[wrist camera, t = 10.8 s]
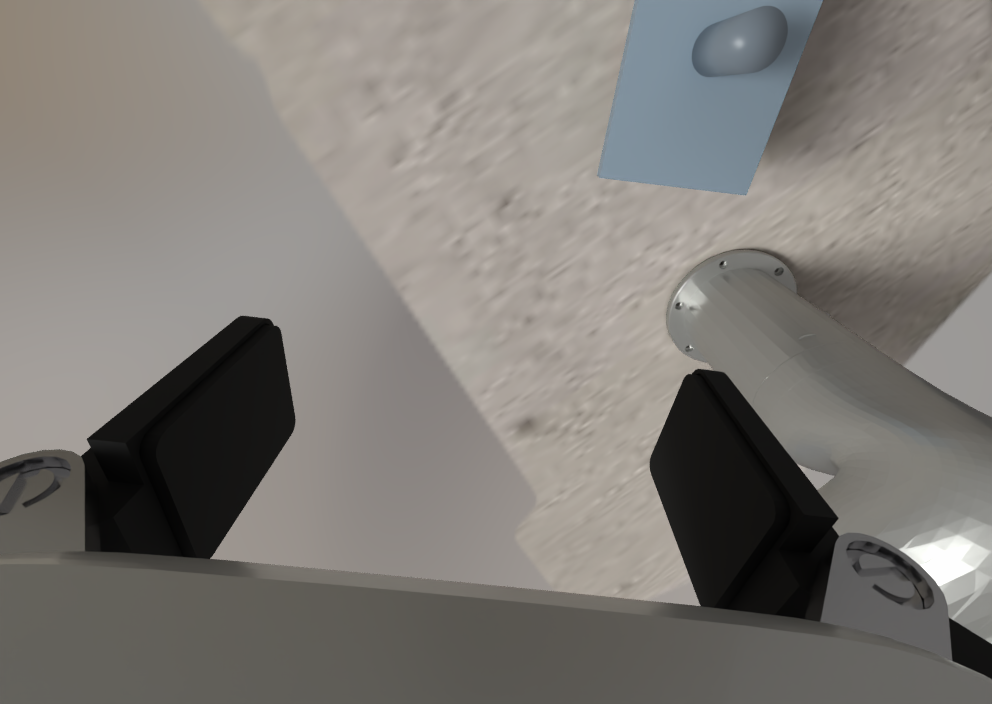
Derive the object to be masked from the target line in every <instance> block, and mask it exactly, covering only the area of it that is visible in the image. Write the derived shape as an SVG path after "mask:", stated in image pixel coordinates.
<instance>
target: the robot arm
mask: <svg viewBox="0 0 992 704" xmlns="http://www.w3.org/2000/svg"><path fill="white" fill-rule="evenodd" d="M721 262H722V263H721ZM720 263H721V264H720ZM678 302H679V303H678ZM676 303H678V304H676ZM666 325H667V329H668V333H669V335H670V337H671V339H672V341H673V342H674V343H675V345H676V346H677V348H678V349H679V350H680V351H681V352H682V353H684V354H685V355H687V356H689V357H690V358H692V359H695V360H698V361H701V362H706V363H708V364H709V365H710V366H711V368H712V369H713V370H714V371H712V370H703V369H697V370H695V371H694V372H693V373H692V374H688V375H686V376H685V378H684V380H683V382H682V384H681V387H680V389H679V391H678V394H677V396H676V398H675V401H674V403H673V406H672V408H671V410H670V413H669V415H668V417H667V420H666V422H665V425H664V427H663V429H662V432H661V434H660V436H659V439H658V441H657V444H656V446H655V448H654V451H653V453H652V455H651V458H650V472H651V475H652V477H653V480H654V483H655V485H656V488H657V491H658V493H659V496H660V499H661V501H662V504H663V507H664V510H665V512H666V515H667V518H668V520H669V523H670V526H671V528H672V531H673V534H674V536H675V539H676V542H677V544H678V547H679V550H680V552H681V555H682V558H683V560H684V563H685V566H686V568H687V571H688V574H689V576H690V579H691V582H692V584H693V587H694V590H695V592H696V595H697V598H698V600H699V603H700V605H701V606H692V605H682V604H673V603H663V602H654V601H644V600H634V599H624V598H615V597H605V596H595V595H585V594H576V593H566V592H556V591H546V590H536V589H525V588H515V587H505V586H494V585H484V584H474V583H463V582H453V581H443V580H432V579H422V578H412V577H401V576H391V575H380V574H370V573H358V572H348V571H337V570H326V569H315V568H304V567H293V566H282V565H271V564H259V563H249V562H239V561H228V560H215V559H210V558H211V557H212V556H213V554H214V553H215V551H216V549H217V548H218V546H219V545H220V543H221V542H222V540H223V539H224V537H225V536H226V534H227V532H228V531H229V530H230V528H231V527H232V525H233V523H234V522H235V520H236V519H237V517H238V516H239V514H240V513H241V511H242V510H243V508H244V507H245V505H246V504H247V502H248V500H249V499H250V497H251V496H252V494H253V493H254V491H255V489H256V488H257V487H258V485H259V484H260V482H261V480H262V479H263V477H264V476H265V474H266V473H267V471H268V470H269V468H270V467H271V465H272V463H273V462H274V460H275V459H276V457H277V456H278V454H279V453H280V451H281V450H282V448H283V447H284V445H285V444H286V442H287V440H288V439H289V437H290V436H291V434H292V432H293V430H294V427H295V413H294V407H293V401H292V395H291V389H290V383H289V377H288V371H287V365H286V359H285V353H284V347H283V341H282V334H281V330H280V329H279V327H277V326H274V325H273V323H272V321H271V320H270V319H266V318H258V317H249V316H240V317H238V318H237V319H235V320H234V321H233V322H232V323H230V324H229V325H228V326H227V327H226V328H224V329H223V330H222V331H220V332H219V333H218V334H217V335H215V336H214V337H213V338H212V339H210V340H209V341H208V342H207V343H206V344H204V345H203V346H202V347H201V348H199V349H198V350H197V351H196V352H194V353H193V354H192V355H191V356H190V357H188V358H187V359H186V360H184V361H183V362H182V363H181V364H180V365H178V366H177V367H176V368H175V369H173V370H172V371H171V372H170V373H168V374H167V375H166V376H164V377H163V378H162V379H161V380H160V381H158V382H157V383H156V384H155V385H153V386H152V387H151V388H150V389H148V390H147V391H146V392H145V393H143V394H142V395H141V396H140V397H139V398H137V399H136V400H135V401H133V402H132V403H131V404H130V405H128V406H127V407H126V408H125V409H123V410H122V411H121V412H120V413H119V414H117V415H116V416H115V417H114V418H112V419H111V420H110V421H109V422H107V423H106V424H105V425H104V426H102V427H101V428H100V429H99V430H98V431H96V432H95V433H94V434H92V435H91V436H90V437H89V438H87V441H88V443H89V445H90V446H91V448H90V449H89V450H88V451H87V452H85V453H84V454H83V455H82V456H79V455H77V454H76V453H74V452H72V451H66V450H60V449H59V450H42V451H37V452H32V453H27V454H23V455H19V456H17V457H13V458H10V459H7V460H5V461H2V462H0V704H992V417H990V416H988V415H986V414H984V413H982V412H980V411H978V410H976V409H974V408H972V407H970V406H968V405H966V404H965V403H963V402H961V401H959V400H957V399H955V398H954V397H952V396H950V395H948V394H946V393H944V392H943V391H941V390H940V389H938V388H936V387H935V386H933V385H932V384H930V383H929V382H927V381H925V380H924V379H922V378H921V377H919V376H917V375H916V374H914V373H913V372H911V371H909V370H908V369H906V368H905V367H903V366H902V365H900V364H899V363H897V362H896V361H894V360H893V359H891V358H890V357H888V356H887V355H885V354H884V353H882V352H881V351H880V350H878V349H877V348H875V347H874V346H872V345H871V344H869V343H868V342H866V341H865V340H863V339H862V338H860V337H859V336H858V335H856V334H855V333H853V332H852V331H850V330H849V329H847V328H846V327H844V326H843V325H842V324H840V323H839V322H837V321H836V320H834V319H833V318H831V317H830V314H829V313H828V312H827V311H821V310H820V309H818V308H817V307H815V306H814V305H812V304H811V303H809V302H808V301H807V300H805V299H804V298H802V297H801V296H799V295H798V294H797V284H796V281H795V278H794V276H793V274H792V272H791V271H790V270H789V268H788V267H787V266H786V265H785V264H784V263H782V262H781V261H780V260H779V259H777V258H775V257H773V256H772V255H770V254H767V253H764V252H761V251H756V250H748V249H747V250H734V251H729V252H725V253H721V254H719V255H716V256H714V257H712V258H709V259H708V260H706V261H704V262H703V263H701V264H699V265H698V266H696V267H695V268H694V269H693V270H691V271H690V272H689V273H688V274H687V275H686V276H685V277H684V278H683V279H682V280H681V282H680V283H679V284H678V286H677V287H676V289H675V290H674V292H673V294H672V296H671V298H670V301H669V303H668V307H667V312H666ZM797 464H798V465H801V466H803V467H806V468H809V469H811V470H815V471H818V472H822V473H826V474H830V475H834V478H833V479H831V480H830V481H829V482H828V483H826V484H825V485H824V486H822V487H821V488H820V489H818V490H816V488H815V487H814V486H813V485H812V483H811V482H810V481H809V479H808V478H807V477H806V476H805V474H804V473H803V472H802V470H801V469H800V468H799V467H798V465H797Z"/></svg>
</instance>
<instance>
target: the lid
mask: <svg viewBox="0 0 992 704" xmlns="http://www.w3.org/2000/svg"><path fill="white" fill-rule="evenodd" d="M822 2H823V0H635V2H634V7H633V11H632V16H631V20H630V25H629V30H628V34H627V39H626V44H625V48H624V53H623V58H622V62H621V67H620V71H619V76H618V81H617V85H616V90H615V95H614V99H613V104H612V109H611V113H610V118H609V122H608V127H607V132H606V136H605V141H604V146H603V150H602V155H601V159H600V164H599V169H598V173H597V176H598V177H599V178H606V179H614V180H622V181H630V182H639V183H647V184H655V185H664V186H672V187H680V188H688V189H697V190H705V191H713V192H722V193H730V194H738V195H746V194H747V192H748V189H749V187H750V184H751V182H752V179H753V177H754V174H755V172H756V169H757V167H758V164H759V162H760V159H761V156H762V154H763V151H764V149H765V146H766V144H767V141H768V139H769V136H770V134H771V131H772V129H773V126H774V124H775V121H776V118H777V116H778V113H779V111H780V108H781V106H782V103H783V101H784V98H785V96H786V93H787V91H788V88H789V86H790V83H791V81H792V78H793V75H794V73H795V70H796V68H797V65H798V63H799V60H800V58H801V55H802V53H803V50H804V48H805V45H806V43H807V40H808V37H809V35H810V32H811V30H812V27H813V25H814V22H815V20H816V17H817V15H818V12H819V10H820V7H821V5H822Z"/></svg>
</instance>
